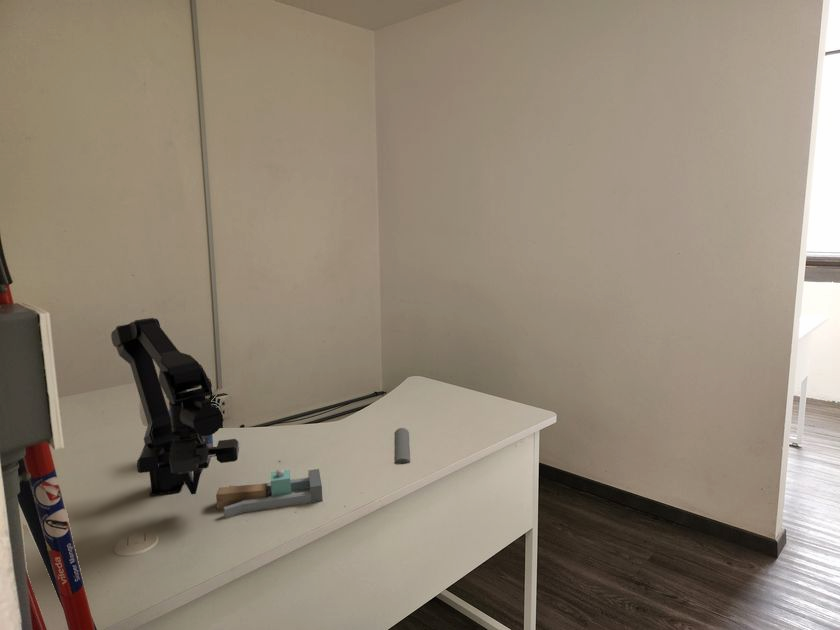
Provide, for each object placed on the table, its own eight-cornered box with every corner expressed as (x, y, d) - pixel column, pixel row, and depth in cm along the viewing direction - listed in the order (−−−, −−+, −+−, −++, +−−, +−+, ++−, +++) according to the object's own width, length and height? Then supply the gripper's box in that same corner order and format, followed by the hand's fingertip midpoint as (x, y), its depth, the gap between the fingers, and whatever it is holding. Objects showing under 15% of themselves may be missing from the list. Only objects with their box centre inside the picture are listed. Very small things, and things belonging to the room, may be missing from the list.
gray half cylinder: (409, 433, 152) (409, 427, 152) (411, 465, 133) (411, 458, 132) (394, 434, 152) (394, 428, 151) (393, 465, 132) (393, 458, 132)
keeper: (272, 502, 115) (270, 476, 114) (272, 492, 119) (270, 468, 118) (291, 499, 116) (289, 474, 115) (291, 490, 120) (289, 465, 119)
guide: (223, 518, 110) (222, 502, 109) (228, 493, 119) (226, 478, 119) (323, 503, 114) (322, 488, 114) (319, 480, 124) (318, 466, 124)
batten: (217, 509, 113) (216, 494, 113) (220, 502, 116) (219, 487, 116) (266, 505, 115) (265, 490, 114) (268, 498, 118) (267, 483, 117)
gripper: (125, 443, 100) (135, 521, 102) (232, 432, 104) (238, 506, 107) (140, 422, 110) (148, 492, 113) (236, 412, 115) (241, 480, 118)
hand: (194, 493), depth 112 cm, fingers closed
